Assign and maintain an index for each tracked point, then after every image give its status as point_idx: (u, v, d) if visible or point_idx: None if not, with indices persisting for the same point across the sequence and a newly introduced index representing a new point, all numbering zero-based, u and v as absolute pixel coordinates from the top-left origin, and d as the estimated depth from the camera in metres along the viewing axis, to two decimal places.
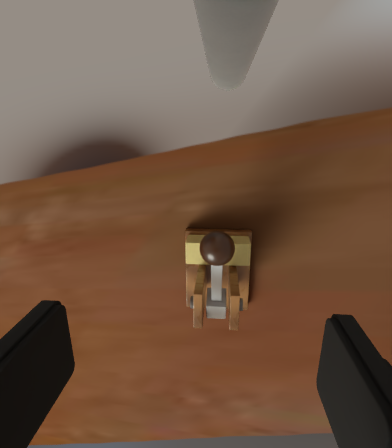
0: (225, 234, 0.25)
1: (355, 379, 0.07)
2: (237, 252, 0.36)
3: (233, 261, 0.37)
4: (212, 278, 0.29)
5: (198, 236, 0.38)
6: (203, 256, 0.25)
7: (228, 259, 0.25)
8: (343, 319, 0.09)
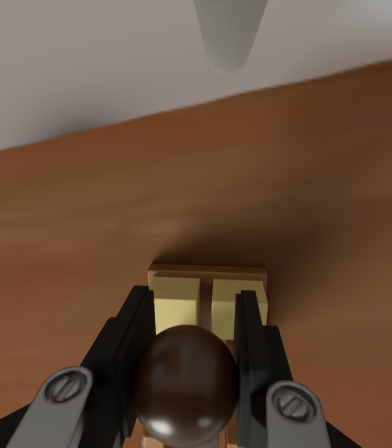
0: (209, 348, 0.08)
1: (238, 339, 0.09)
2: None
3: None
4: None
5: (170, 281, 0.21)
6: (139, 418, 0.08)
7: (218, 433, 0.08)
8: (245, 293, 0.10)
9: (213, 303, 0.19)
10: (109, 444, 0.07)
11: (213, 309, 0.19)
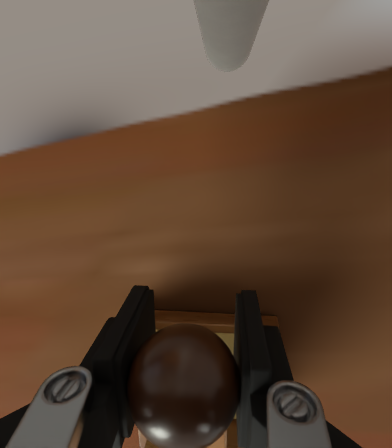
0: (210, 333, 0.08)
1: (239, 339, 0.09)
2: None
3: None
4: None
5: None
6: (132, 410, 0.07)
7: (219, 427, 0.07)
8: (246, 293, 0.10)
9: None
10: (109, 444, 0.07)
11: None
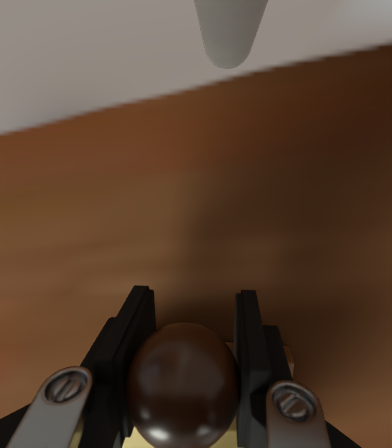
0: (210, 330, 0.09)
1: (238, 339, 0.09)
2: None
3: None
4: None
5: None
6: (131, 398, 0.07)
7: (219, 414, 0.07)
8: (245, 293, 0.10)
9: None
10: (109, 444, 0.07)
11: None
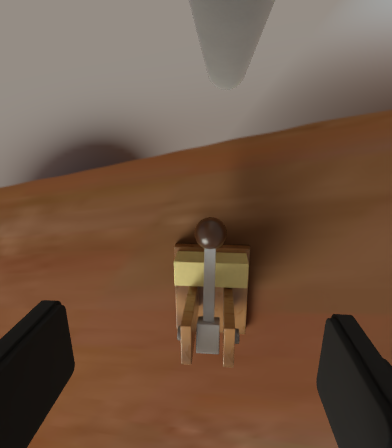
0: None
1: (355, 379, 0.07)
2: (233, 273, 0.31)
3: (228, 283, 0.32)
4: (205, 276, 0.28)
5: (189, 253, 0.34)
6: (198, 232, 0.27)
7: (220, 234, 0.27)
8: (343, 319, 0.09)
9: (216, 264, 0.31)
10: None
11: (216, 268, 0.31)
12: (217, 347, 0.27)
